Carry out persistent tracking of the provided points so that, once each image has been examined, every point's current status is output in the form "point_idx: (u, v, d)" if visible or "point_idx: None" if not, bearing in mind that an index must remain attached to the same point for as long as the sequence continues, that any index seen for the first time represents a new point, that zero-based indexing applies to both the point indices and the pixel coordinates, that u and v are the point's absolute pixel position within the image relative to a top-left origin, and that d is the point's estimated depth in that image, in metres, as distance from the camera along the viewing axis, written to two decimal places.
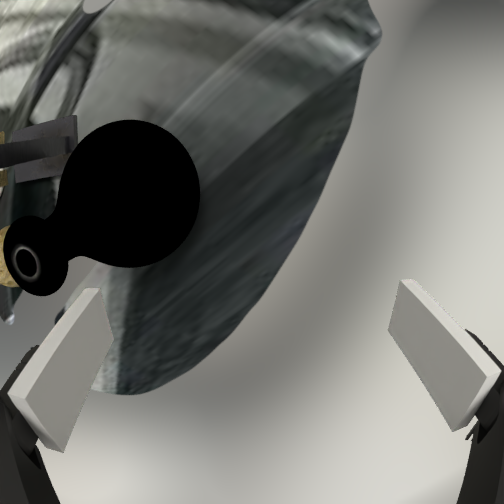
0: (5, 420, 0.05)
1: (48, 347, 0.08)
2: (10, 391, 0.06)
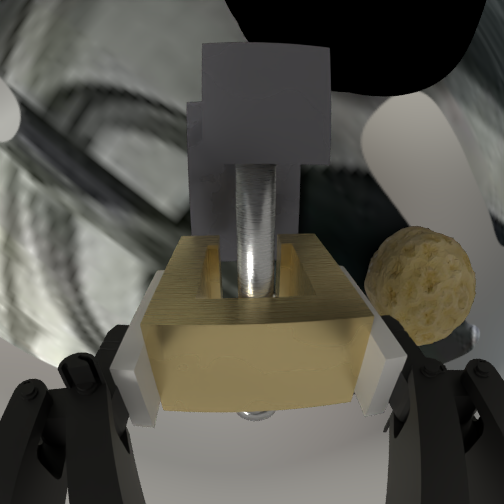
0: (106, 402, 0.06)
1: None
2: (112, 366, 0.07)
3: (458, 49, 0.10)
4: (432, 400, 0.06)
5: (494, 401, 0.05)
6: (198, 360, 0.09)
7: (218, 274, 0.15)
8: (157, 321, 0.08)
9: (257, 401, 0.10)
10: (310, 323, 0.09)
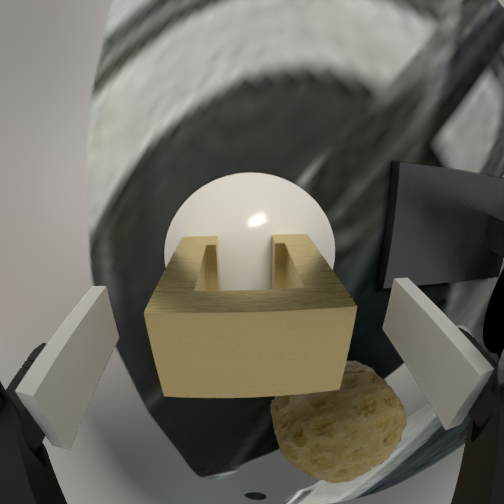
0: (12, 418, 0.05)
1: (55, 345, 0.08)
2: (18, 389, 0.06)
3: None
4: None
5: None
6: (196, 346, 0.10)
7: (216, 272, 0.16)
8: (159, 310, 0.10)
9: (251, 387, 0.11)
10: (297, 312, 0.10)
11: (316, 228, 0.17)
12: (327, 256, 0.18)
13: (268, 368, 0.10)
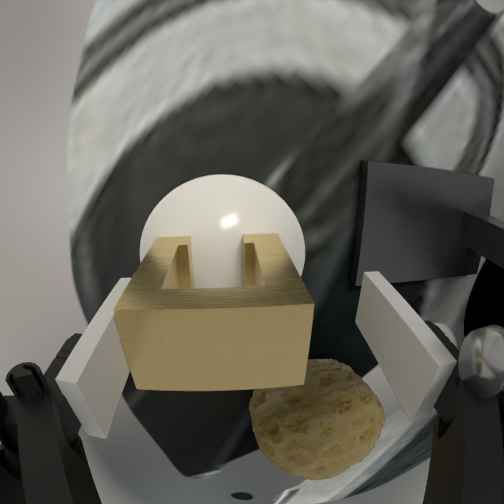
0: (52, 410, 0.06)
1: (93, 333, 0.09)
2: (58, 377, 0.07)
3: None
4: (478, 402, 0.06)
5: None
6: (162, 341, 0.10)
7: (188, 271, 0.16)
8: (128, 306, 0.10)
9: (216, 381, 0.11)
10: (255, 309, 0.10)
11: (285, 227, 0.18)
12: (297, 255, 0.18)
13: (231, 362, 0.11)
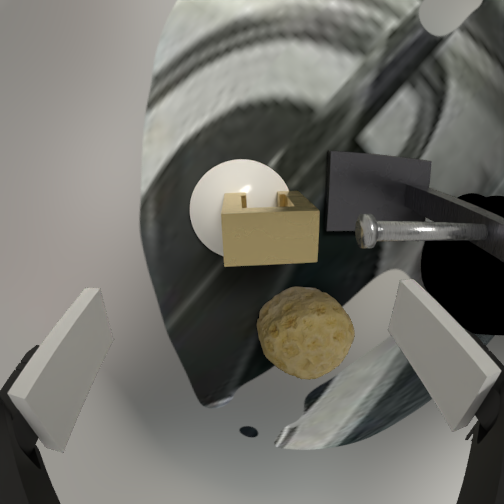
0: (5, 420, 0.05)
1: (48, 347, 0.08)
2: (10, 391, 0.06)
3: (472, 321, 0.25)
4: None
5: None
6: (244, 231, 0.22)
7: None
8: (228, 213, 0.21)
9: (270, 257, 0.23)
10: (291, 212, 0.21)
11: None
12: None
13: (279, 244, 0.22)
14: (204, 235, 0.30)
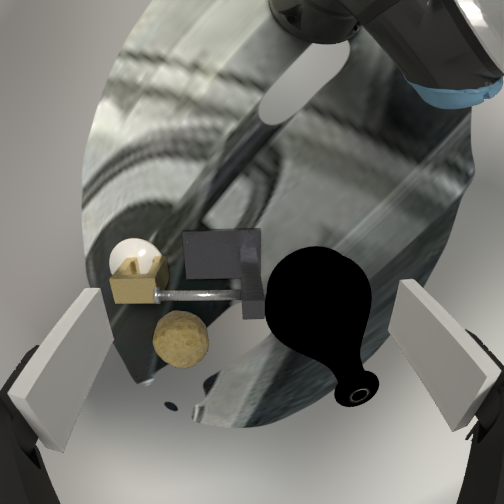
0: (5, 420, 0.05)
1: (48, 347, 0.08)
2: (10, 391, 0.06)
3: (287, 344, 0.44)
4: None
5: None
6: (121, 287, 0.40)
7: (136, 269, 0.47)
8: (112, 278, 0.40)
9: (135, 300, 0.41)
10: (141, 279, 0.40)
11: None
12: None
13: (138, 294, 0.41)
14: None
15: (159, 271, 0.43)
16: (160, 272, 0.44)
